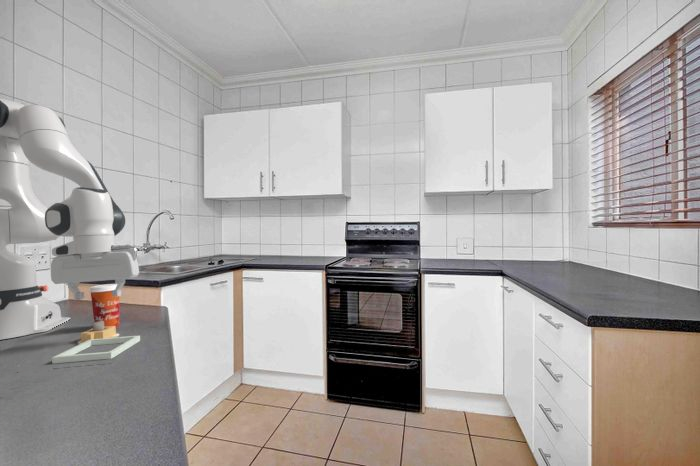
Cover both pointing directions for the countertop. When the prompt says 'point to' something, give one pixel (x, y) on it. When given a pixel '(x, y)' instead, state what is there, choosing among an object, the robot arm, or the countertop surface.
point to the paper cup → (105, 304)
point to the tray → (70, 357)
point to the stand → (99, 329)
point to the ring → (98, 333)
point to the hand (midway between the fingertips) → (98, 297)
